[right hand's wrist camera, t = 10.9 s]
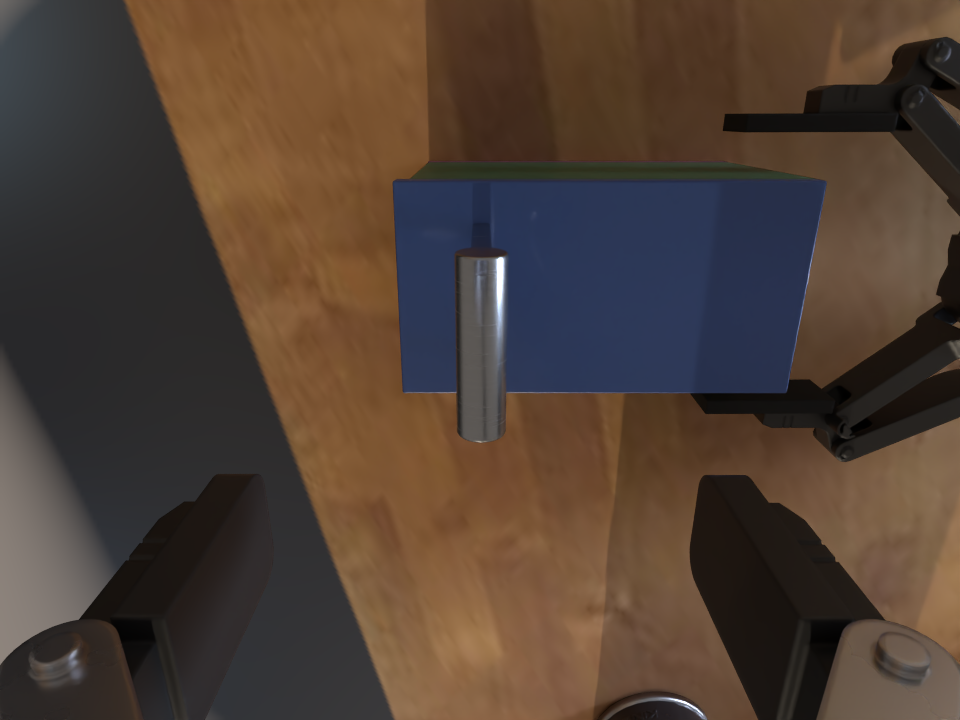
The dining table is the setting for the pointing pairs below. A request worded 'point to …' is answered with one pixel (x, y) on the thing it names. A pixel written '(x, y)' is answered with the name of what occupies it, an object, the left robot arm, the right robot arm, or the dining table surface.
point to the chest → (595, 170)
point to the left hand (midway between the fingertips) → (713, 270)
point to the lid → (599, 287)
